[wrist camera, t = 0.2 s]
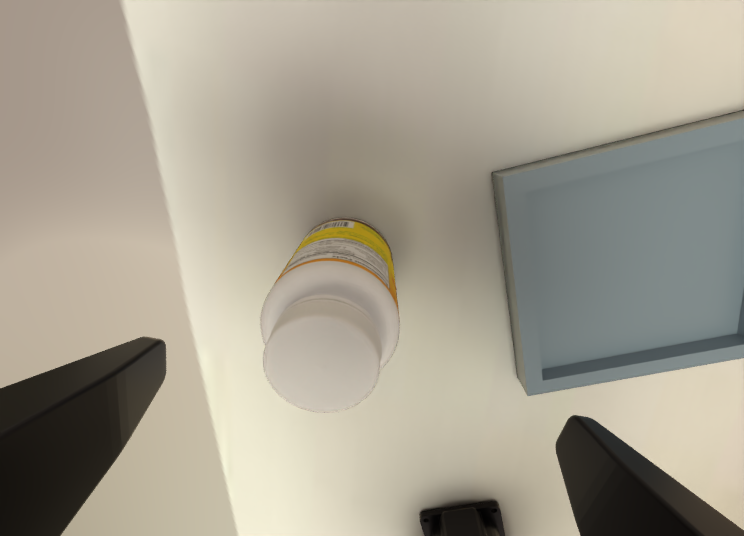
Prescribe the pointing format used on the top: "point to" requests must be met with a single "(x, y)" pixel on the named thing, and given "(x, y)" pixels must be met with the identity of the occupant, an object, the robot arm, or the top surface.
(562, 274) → the tray
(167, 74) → the top surface
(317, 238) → the supplement bottle
